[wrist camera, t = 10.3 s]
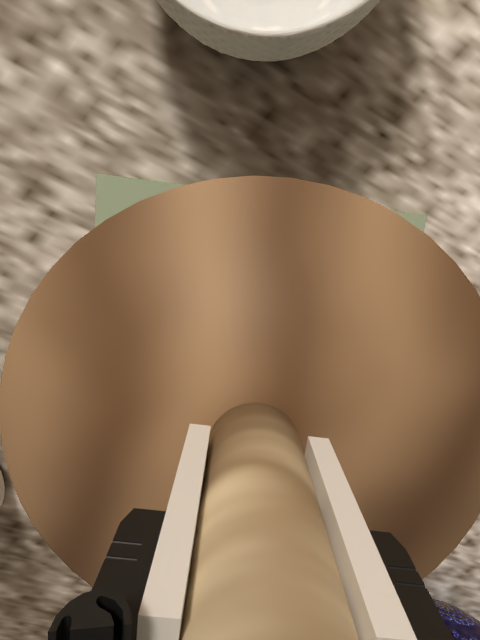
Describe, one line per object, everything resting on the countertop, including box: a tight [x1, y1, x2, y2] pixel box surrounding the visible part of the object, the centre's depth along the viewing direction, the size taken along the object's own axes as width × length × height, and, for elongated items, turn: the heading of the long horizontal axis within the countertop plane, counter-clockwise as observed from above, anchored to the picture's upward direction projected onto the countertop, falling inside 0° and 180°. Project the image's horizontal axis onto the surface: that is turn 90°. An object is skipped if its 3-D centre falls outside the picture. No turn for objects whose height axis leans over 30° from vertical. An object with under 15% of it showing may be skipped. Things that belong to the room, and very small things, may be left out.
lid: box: [0, 176, 480, 640], centre depth 11 cm, size 20×20×9 cm
